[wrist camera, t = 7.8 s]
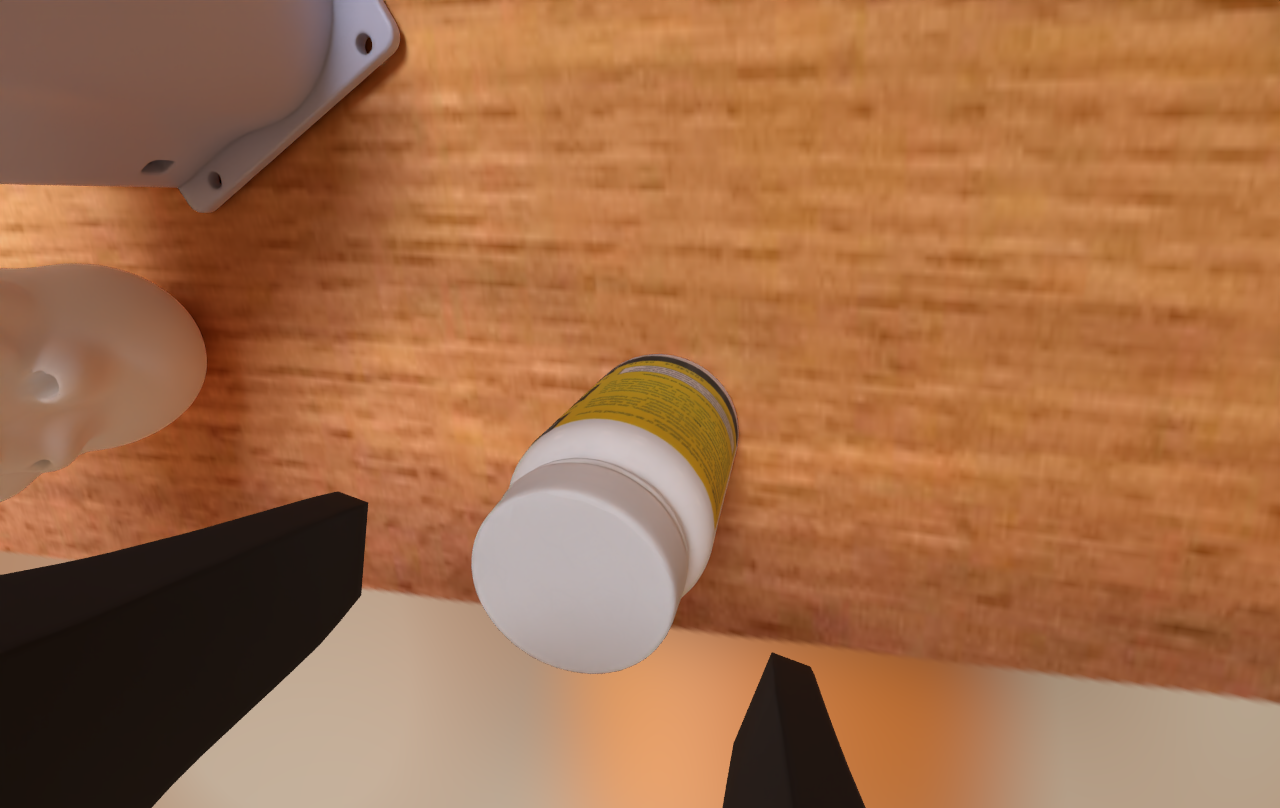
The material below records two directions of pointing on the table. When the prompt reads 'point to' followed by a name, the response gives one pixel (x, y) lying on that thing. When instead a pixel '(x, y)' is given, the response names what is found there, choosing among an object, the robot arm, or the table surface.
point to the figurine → (88, 365)
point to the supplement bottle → (610, 517)
